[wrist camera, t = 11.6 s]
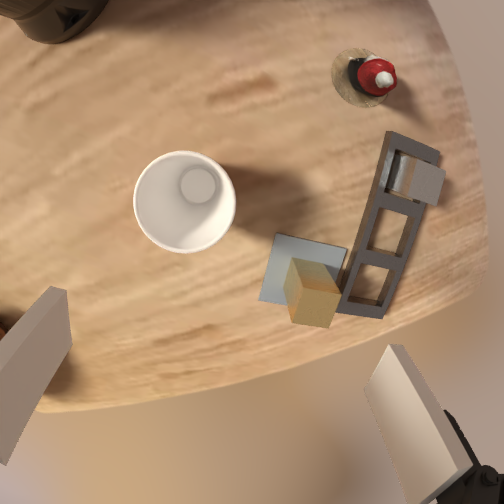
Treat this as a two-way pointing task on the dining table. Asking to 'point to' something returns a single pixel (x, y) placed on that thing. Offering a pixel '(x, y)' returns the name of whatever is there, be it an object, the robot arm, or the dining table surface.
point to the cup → (184, 202)
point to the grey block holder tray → (375, 200)
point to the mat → (300, 249)
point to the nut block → (310, 293)
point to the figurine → (363, 77)
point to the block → (415, 179)
